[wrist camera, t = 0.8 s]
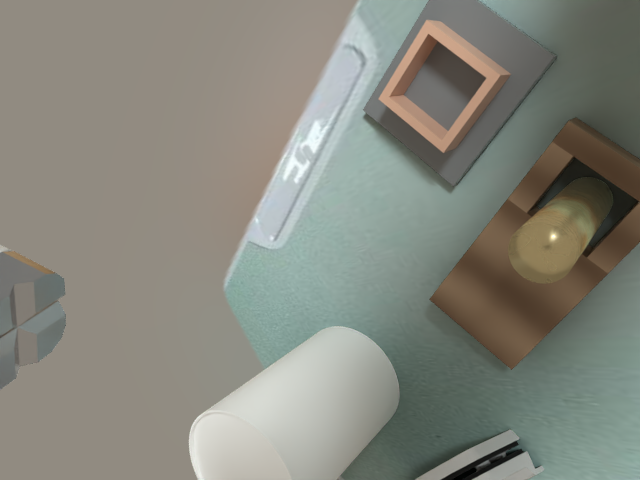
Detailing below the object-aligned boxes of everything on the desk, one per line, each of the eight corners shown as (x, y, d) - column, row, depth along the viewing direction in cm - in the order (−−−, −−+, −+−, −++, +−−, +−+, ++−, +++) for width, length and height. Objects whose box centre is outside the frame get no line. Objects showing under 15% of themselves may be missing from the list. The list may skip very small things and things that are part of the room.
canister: (419, 417, 64) (322, 537, 48) (335, 435, 72) (230, 543, 56) (365, 312, 64) (251, 397, 48) (288, 342, 72) (169, 423, 57)
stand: (447, -23, 49) (428, -28, 46) (557, 56, 46) (545, 57, 43) (367, 109, 57) (347, 112, 54) (457, 184, 53) (440, 192, 50)
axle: (610, 173, 46) (570, 219, 33) (615, 220, 46) (579, 282, 34) (558, 180, 48) (503, 225, 36) (565, 224, 49) (513, 284, 36)
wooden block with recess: (575, 117, 46) (568, 120, 44) (685, 189, 43) (684, 197, 41) (441, 289, 57) (429, 299, 55) (520, 356, 55) (511, 369, 52)
